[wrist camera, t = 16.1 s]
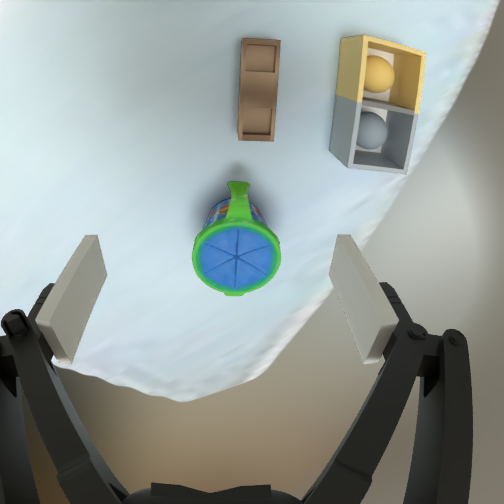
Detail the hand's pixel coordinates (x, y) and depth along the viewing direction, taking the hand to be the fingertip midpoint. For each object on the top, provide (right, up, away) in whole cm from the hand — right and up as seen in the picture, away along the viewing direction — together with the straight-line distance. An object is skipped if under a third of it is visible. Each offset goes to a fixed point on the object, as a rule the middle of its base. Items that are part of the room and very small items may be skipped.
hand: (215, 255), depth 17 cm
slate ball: (+17, +17, +22) cm, 32 cm away
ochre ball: (+17, +23, +17) cm, 34 cm away
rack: (+2, +20, +19) cm, 28 cm away
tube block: (+17, +20, +20) cm, 33 cm away
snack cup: (-1, +5, +29) cm, 30 cm away
